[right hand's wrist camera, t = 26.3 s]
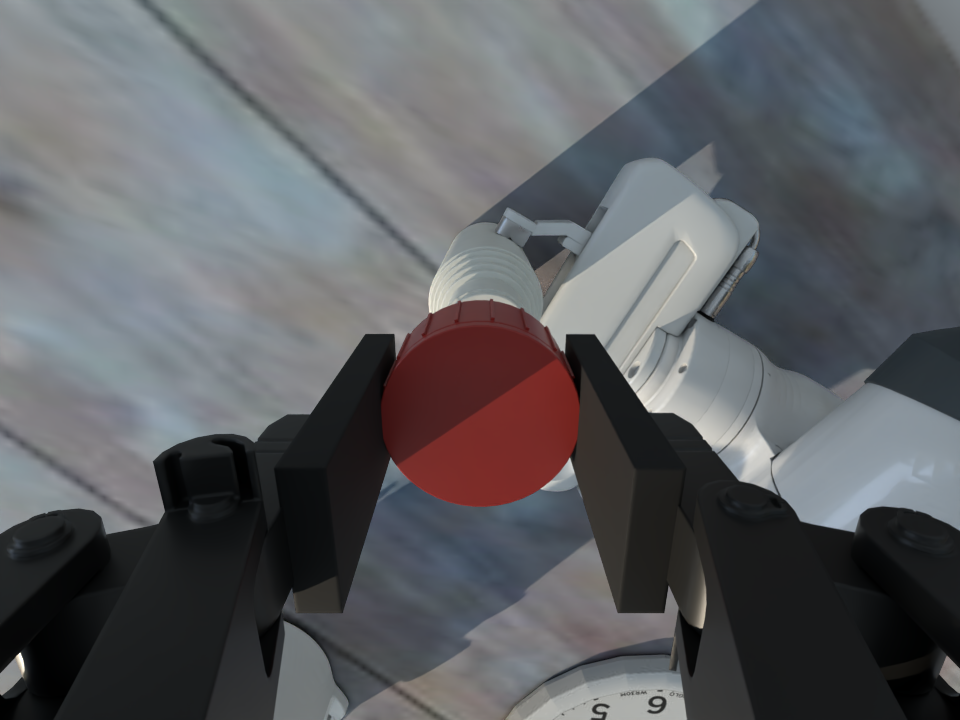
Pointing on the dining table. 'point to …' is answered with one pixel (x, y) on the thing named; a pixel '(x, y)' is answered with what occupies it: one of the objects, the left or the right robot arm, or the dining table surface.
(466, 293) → the bottle
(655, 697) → the wall clock
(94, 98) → the dining table surface
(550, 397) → the cap
